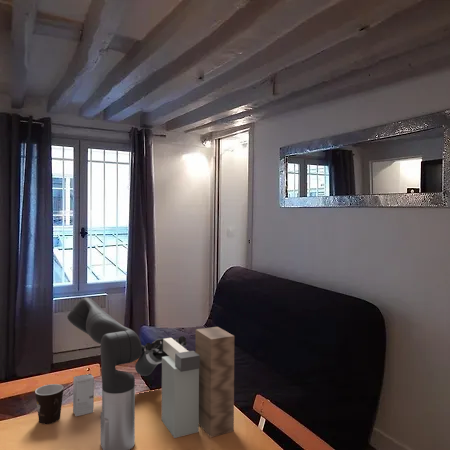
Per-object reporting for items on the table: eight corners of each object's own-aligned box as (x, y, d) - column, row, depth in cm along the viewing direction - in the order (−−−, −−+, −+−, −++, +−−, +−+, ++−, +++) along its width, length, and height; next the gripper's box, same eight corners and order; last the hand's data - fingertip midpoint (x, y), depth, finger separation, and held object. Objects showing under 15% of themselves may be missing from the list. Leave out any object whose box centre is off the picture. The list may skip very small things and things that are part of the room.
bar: (181, 371, 122) (181, 358, 122) (158, 350, 140) (158, 339, 140) (199, 368, 124) (199, 355, 124) (175, 348, 143) (175, 337, 143)
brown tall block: (210, 437, 125) (211, 339, 124) (195, 419, 135) (195, 329, 135) (233, 431, 128) (234, 335, 128) (216, 414, 139) (217, 326, 138)
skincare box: (75, 417, 137) (75, 381, 136) (72, 411, 140) (72, 376, 140) (94, 412, 140) (94, 377, 140) (90, 407, 144) (90, 372, 143)
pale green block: (174, 438, 124) (174, 369, 124) (161, 420, 135) (161, 357, 134) (198, 431, 128) (199, 365, 127) (184, 415, 138) (184, 353, 138)
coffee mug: (37, 415, 138) (37, 385, 137) (64, 411, 140) (64, 382, 140) (31, 432, 126) (31, 400, 126) (61, 428, 129) (61, 397, 129)
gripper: (137, 344, 149) (149, 331, 136) (174, 339, 155) (189, 326, 143) (140, 365, 145) (152, 354, 133) (178, 359, 152) (193, 348, 139)
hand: (171, 340), depth 138 cm, fingers open, 8 cm apart
